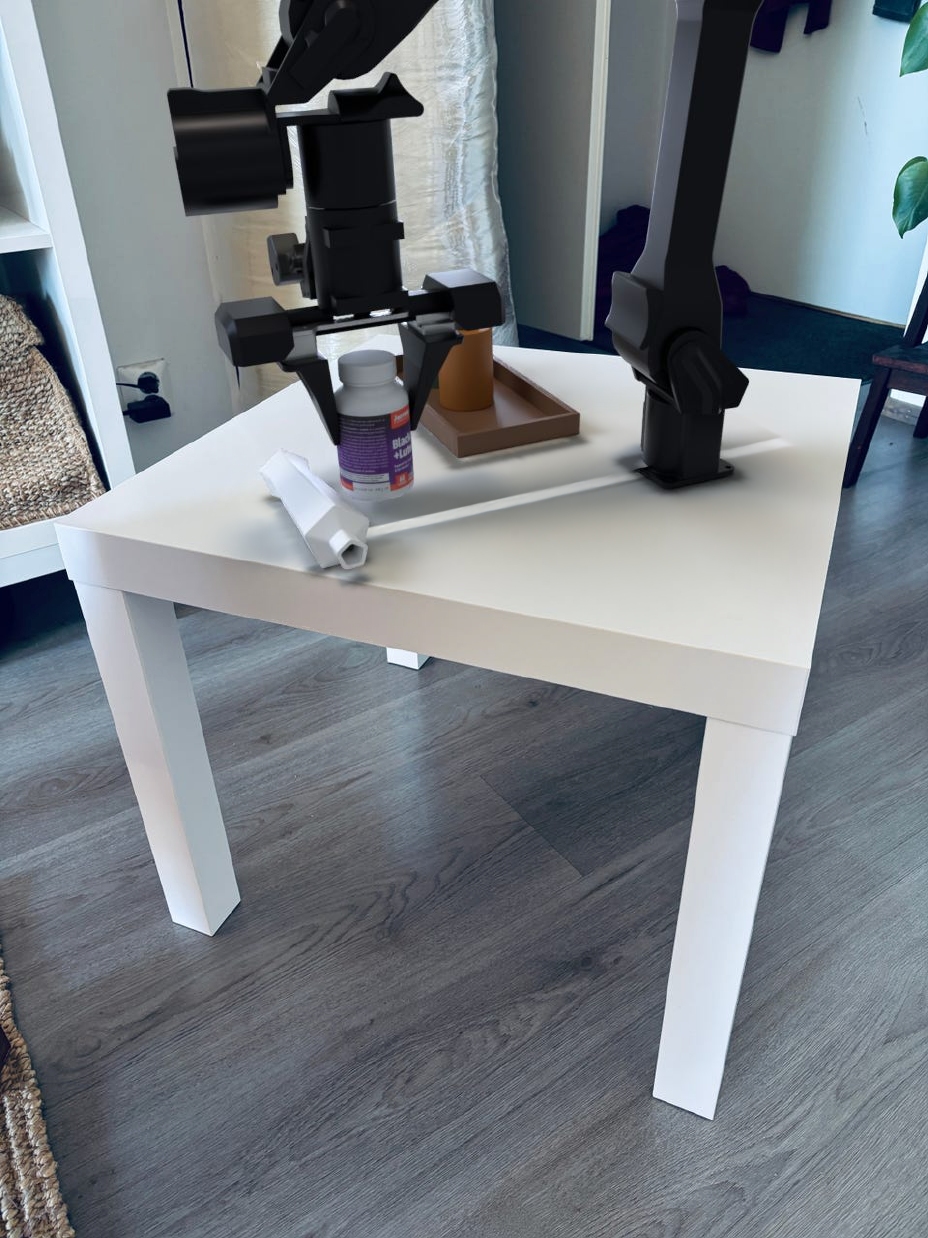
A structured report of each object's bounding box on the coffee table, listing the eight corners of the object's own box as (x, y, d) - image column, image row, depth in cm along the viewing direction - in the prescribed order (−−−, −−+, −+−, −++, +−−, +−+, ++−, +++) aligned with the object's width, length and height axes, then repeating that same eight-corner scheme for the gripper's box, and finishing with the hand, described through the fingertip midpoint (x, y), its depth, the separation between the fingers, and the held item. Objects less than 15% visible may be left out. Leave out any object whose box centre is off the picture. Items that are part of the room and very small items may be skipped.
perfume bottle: (323, 481, 76) (396, 562, 64) (275, 509, 75) (340, 596, 64) (299, 433, 73) (371, 509, 62) (248, 461, 72) (311, 543, 61)
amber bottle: (502, 405, 88) (500, 305, 83) (452, 415, 86) (447, 314, 82) (481, 389, 92) (478, 292, 87) (432, 398, 90) (426, 300, 85)
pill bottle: (411, 502, 68) (402, 369, 63) (337, 504, 69) (320, 371, 63) (417, 471, 73) (408, 344, 68) (347, 473, 73) (332, 346, 68)
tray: (579, 442, 82) (580, 412, 81) (458, 466, 79) (457, 436, 77) (474, 365, 100) (473, 340, 99) (372, 383, 97) (369, 357, 96)
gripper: (442, 171, 69) (453, 381, 78) (181, 199, 64) (223, 422, 72) (507, 192, 61) (510, 427, 69) (210, 227, 55) (254, 477, 63)
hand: (374, 436), depth 69 cm, fingers closed on pill bottle, 5 cm apart
